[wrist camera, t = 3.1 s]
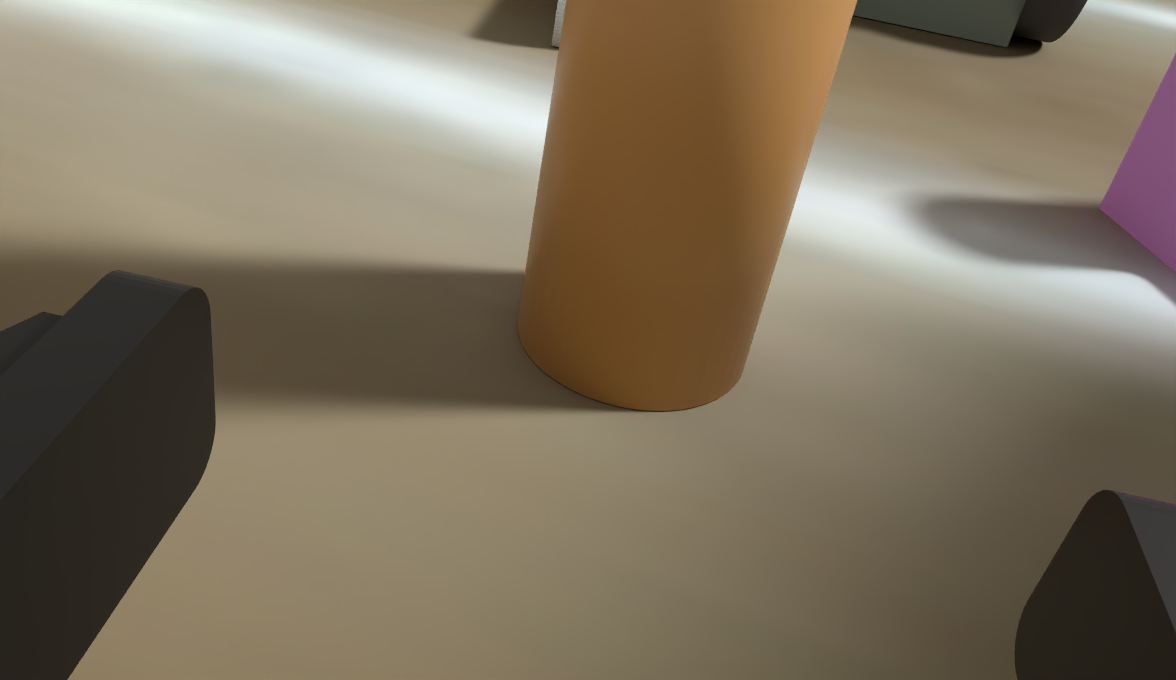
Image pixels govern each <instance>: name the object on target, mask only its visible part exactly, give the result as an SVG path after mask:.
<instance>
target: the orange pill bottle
mask: <svg viewBox="0 0 1176 680" xmlns="http://www.w3.org/2000/svg"><path fill="white" fill-rule="evenodd" d="M856 3H857V0H566V5H565V12H564V18H563V25H562V32H561V38H560V45H559V51H558V58H557V65H556V71H555V78H554V84H553V91H552V98H551V104H550V111H549V118H548V124H547V131H546V137H545V144H544V151H543V157H542V164H541V170H540V177H539V184H538V190H537V197H536V204H535V210H534V217H533V223H532V230H531V237H530V243H529V250H528V256H527V263H526V270H525V276H524V283H523V289H522V296H521V303H520V309H519V316H518V333H519V338H520V341H521V343H522V345H523V348H524V349H525V351H526V352H527V354H528V355H529V357H530V358H531V359H532V360H533V361H534V363H535V364H536V365H537V366H538V367H539V368H540V369H542V370H543V371H544V372H545V373H546V374H547V375H549V376H550V377H551V378H553V379H554V380H556V381H557V382H559V383H560V384H562V385H564V386H566V387H567V388H569V389H571V390H573V391H575V392H577V393H579V394H582V395H584V396H586V397H589V398H592V399H595V400H597V401H600V402H603V403H607V404H611V405H615V406H619V407H624V408H630V409H637V410H647V411H672V410H682V409H688V408H693V407H697V406H700V405H704V404H707V403H709V402H711V401H714V400H716V399H718V398H720V397H721V396H723V395H724V394H726V393H727V392H728V391H729V390H731V389H732V388H733V387H734V386H735V384H736V383H737V382H738V380H739V379H740V377H741V374H742V372H743V369H744V366H745V362H746V359H747V356H748V353H749V349H750V346H751V343H752V340H753V337H754V333H755V330H756V327H757V324H758V320H759V317H760V314H761V311H762V307H763V304H764V301H765V298H766V294H767V291H768V288H769V285H770V281H771V278H772V275H773V272H774V269H775V265H776V262H777V259H778V256H779V252H780V249H781V246H782V243H783V239H784V236H785V233H786V230H787V226H788V223H789V220H790V217H791V214H792V210H793V207H794V204H795V201H796V197H797V194H798V191H799V188H800V184H801V181H802V178H803V175H804V171H805V168H806V165H807V162H808V159H809V155H810V152H811V149H812V146H813V142H814V139H815V136H816V133H817V129H818V126H819V123H820V120H821V116H822V113H823V110H824V107H825V104H826V100H827V97H828V94H829V91H830V87H831V84H832V81H833V78H834V74H835V71H836V68H837V65H838V61H839V58H840V55H841V52H842V49H843V45H844V42H845V39H846V36H847V32H848V29H849V26H850V23H851V19H852V16H853V13H854V10H855V6H856Z"/></svg>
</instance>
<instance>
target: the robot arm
mask: <svg viewBox="0 0 1176 680" xmlns="http://www.w3.org/2000/svg"><path fill="white" fill-rule="evenodd" d="M214 435H215V397H214V377H213V357H212V336H211V316H210V306H209V301H208V298H207V296H206V294H205V292H204V291H203V290H202V289H200V288H197V287H193V286H188V285H183V284H179V283H174V282H170V281H165V280H161V279H156V278H152V277H147V276H142V275H138V274H133V273H129V272H124V271H119V270H117V271H113V272H111V273H109V274H107V275H106V276H104V277H103V278H102V279H101V280H100V281H99V282H98V283H97V284H96V285H95V286H94V287H93V288H92V289H91V290H90V291H89V292H88V293H86V294H85V295H84V296H83V297H82V298H81V299H80V300H79V301H78V302H77V303H76V304H75V305H74V306H73V307H72V308H71V309H70V310H69V311H68V312H67V313H66V314H65V315H64V316H60V315H55V314H50V313H46V312H42V313H40V314H37V315H35V316H33V317H31V318H29V319H27V320H25V321H22V322H20V323H18V324H16V325H14V326H12V327H10V328H7V329H5V330H3V331H1V332H0V680H67V679H68V678H69V676H70V675H71V673H72V672H73V670H74V669H75V667H76V666H77V664H78V663H79V661H80V660H81V658H82V657H83V656H84V654H85V653H86V651H87V650H88V648H89V647H90V645H91V644H92V642H93V641H94V639H95V638H96V636H97V635H98V633H99V632H100V630H101V629H102V627H103V626H104V624H105V623H106V621H107V620H108V618H109V617H110V615H111V614H112V612H113V611H114V609H115V608H116V606H117V605H118V603H119V602H120V600H121V599H122V597H123V596H124V594H125V593H126V591H127V590H128V588H129V587H130V586H131V584H132V583H133V581H134V580H135V578H136V577H137V575H138V574H139V572H140V571H141V569H142V568H143V566H144V565H145V563H146V562H147V560H148V559H149V557H150V556H151V554H152V553H153V551H154V550H155V548H156V547H157V545H158V544H159V542H160V541H161V539H162V538H163V536H164V535H165V533H166V532H167V530H168V529H169V527H170V526H171V524H172V523H173V521H174V520H175V518H176V517H177V515H178V514H179V513H180V511H181V510H182V508H183V507H184V505H185V504H186V502H187V501H188V499H189V498H190V496H191V495H192V493H193V492H194V490H195V489H196V487H197V485H198V484H199V482H200V480H201V478H202V476H203V473H204V471H205V469H206V466H207V463H208V460H209V457H210V454H211V450H212V446H213V441H214ZM1015 668H1016V674H1017V679H1018V680H1176V505H1174V504H1169V503H1165V502H1160V501H1156V500H1151V499H1146V498H1142V497H1137V496H1133V495H1128V494H1124V493H1119V492H1115V491H1110V490H1102V491H1100V492H1098V493H1096V494H1095V495H1093V496H1092V497H1091V498H1090V499H1089V500H1088V502H1087V503H1086V504H1085V506H1084V507H1083V509H1082V511H1081V512H1080V514H1079V516H1078V517H1077V519H1076V521H1075V522H1074V524H1073V526H1072V527H1071V529H1070V531H1069V532H1068V534H1067V536H1066V537H1065V539H1064V541H1063V542H1062V544H1061V546H1060V547H1059V549H1058V551H1057V552H1056V554H1055V556H1054V558H1053V559H1052V561H1051V563H1050V564H1049V566H1048V568H1047V569H1046V571H1045V573H1044V574H1043V576H1042V578H1041V579H1040V581H1039V583H1038V584H1037V586H1036V588H1035V589H1034V591H1033V593H1032V594H1031V596H1030V598H1029V599H1028V601H1027V603H1026V605H1025V607H1024V609H1023V612H1022V615H1021V618H1020V621H1019V625H1018V629H1017V635H1016V642H1015Z"/></svg>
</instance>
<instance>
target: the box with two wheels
mask: <svg viewBox="0 0 1176 680" xmlns="http://www.w3.org/2000/svg"><path fill="white" fill-rule="evenodd" d="M1086 2H1087V0H857V3H856V6H855V10H854V13H853V15H854V16H859V17H864V18H869V19H873V20H878V21H883V22H888V23H893V24H897V25H902V26H907V27H912V28H917V29H921V30H926V31H931V32H936V33H940V34H945V35H950V36H955V37H960V38H964V39H969V40H974V41H979V42H983V43H988V44H993V45H998V46H1003V47H1007V46H1008V44H1009V41H1010V39H1011V36H1012V35H1015V36H1019V37H1024V38H1029V39H1034V40H1039V41H1043V42H1053V41H1055V40H1057V39H1058V38H1060V37H1061V36H1062V35H1063V34H1064V33H1065V32H1066V31H1067V30H1068V29H1069V28H1070V26H1071V25H1072V24H1073V22H1074V21H1075V20H1076V18H1077V17H1078V15H1079V14H1080V12H1081V10H1082V9H1083V7H1084V5H1085V3H1086ZM565 5H566V0H558V4H557V11H556V18H555V25H554V31H553V38H552V45H551V46H556V47H559V45H560V38H561V32H562V25H563V18H564V12H565Z"/></svg>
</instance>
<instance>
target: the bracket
mask: <svg viewBox="0 0 1176 680" xmlns="http://www.w3.org/2000/svg"><path fill="white" fill-rule="evenodd" d="M1099 209H1100V210H1101V211H1103V212H1104V213H1105V214H1106V215H1107V216H1109V217H1110V218H1111V219H1112V220H1113V221H1115V222H1116V223H1117V224H1118V225H1119V226H1121V227H1122V228H1123V229H1124V230H1125V231H1127V232H1128V233H1129V234H1130V235H1131V236H1133V237H1134V238H1135V239H1136V240H1137V241H1139V242H1140V243H1141V244H1142V245H1143V246H1145V247H1146V248H1147V249H1148V250H1149V251H1151V252H1152V253H1153V254H1154V255H1155V256H1156V257H1158V258H1159V259H1160V260H1161V261H1162V262H1164V263H1165V264H1166V265H1167V266H1168V267H1170V268H1171V269H1172V270H1173V271H1174V272H1176V54H1175V56H1174V58H1173V60H1172V62H1171V64H1170V66H1169V68H1168V70H1167V72H1166V74H1165V76H1164V78H1163V80H1162V82H1161V84H1160V86H1159V88H1158V90H1157V92H1156V94H1155V96H1154V98H1153V101H1152V103H1151V105H1150V107H1149V109H1148V111H1147V113H1146V115H1145V117H1144V119H1143V121H1142V123H1141V125H1140V127H1139V129H1138V131H1137V133H1136V135H1135V137H1134V139H1133V141H1132V143H1131V145H1130V147H1129V149H1128V151H1127V153H1126V155H1125V157H1124V159H1123V161H1122V163H1121V165H1120V167H1119V169H1118V171H1117V173H1116V175H1115V177H1114V179H1113V181H1112V183H1111V185H1110V187H1109V189H1108V191H1107V193H1106V195H1105V197H1104V199H1103V201H1102V203H1101V205H1100V207H1099Z"/></svg>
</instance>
